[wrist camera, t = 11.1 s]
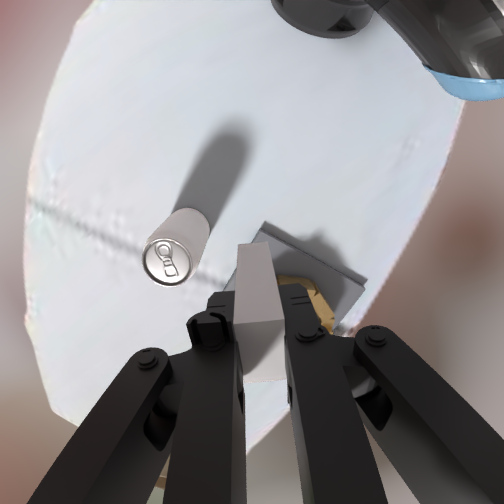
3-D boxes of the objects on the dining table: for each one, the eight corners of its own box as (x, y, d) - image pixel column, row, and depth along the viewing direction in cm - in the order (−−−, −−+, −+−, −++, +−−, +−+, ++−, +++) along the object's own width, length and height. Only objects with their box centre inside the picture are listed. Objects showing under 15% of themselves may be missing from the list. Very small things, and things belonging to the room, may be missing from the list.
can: (204, 202, 37) (186, 228, 26) (214, 245, 40) (203, 285, 29) (161, 212, 38) (130, 241, 27) (173, 253, 40) (149, 294, 29)
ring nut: (220, 307, 41) (218, 325, 37) (298, 258, 39) (305, 272, 34) (290, 379, 48) (293, 396, 44) (355, 343, 45) (363, 360, 41)
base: (260, 228, 39) (263, 249, 32) (363, 285, 43) (382, 311, 36) (201, 327, 45) (194, 359, 38) (297, 365, 49) (303, 396, 42)
